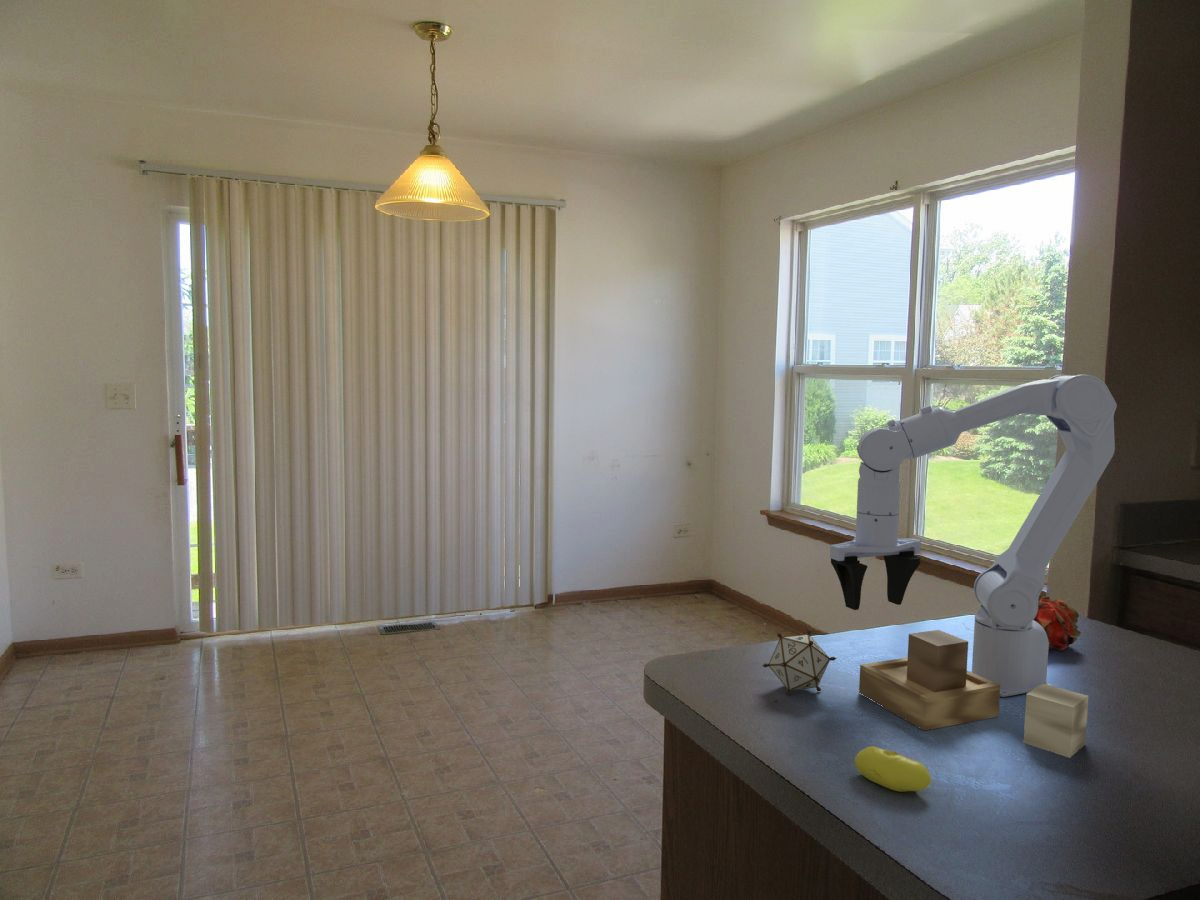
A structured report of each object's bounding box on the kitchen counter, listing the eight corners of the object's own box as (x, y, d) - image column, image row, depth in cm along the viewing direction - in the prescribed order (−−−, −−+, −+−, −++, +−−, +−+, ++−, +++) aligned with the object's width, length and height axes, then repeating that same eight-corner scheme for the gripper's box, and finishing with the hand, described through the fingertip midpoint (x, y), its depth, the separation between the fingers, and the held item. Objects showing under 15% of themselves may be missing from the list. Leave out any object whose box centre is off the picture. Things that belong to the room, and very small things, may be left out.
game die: (809, 721, 109) (838, 680, 103) (750, 694, 111) (775, 652, 104) (819, 670, 116) (847, 629, 110) (764, 645, 117) (788, 603, 111)
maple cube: (1039, 730, 99) (1042, 683, 98) (1085, 745, 95) (1088, 695, 94) (1023, 743, 95) (1026, 694, 95) (1069, 758, 92) (1073, 707, 91)
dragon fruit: (1061, 647, 134) (1041, 677, 125) (1017, 610, 137) (994, 637, 129) (1098, 615, 129) (1079, 643, 120) (1050, 577, 133) (1029, 602, 124)
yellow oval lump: (865, 766, 89) (866, 732, 89) (937, 793, 84) (939, 757, 83) (846, 779, 87) (847, 744, 86) (919, 808, 81) (920, 771, 80)
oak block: (928, 682, 114) (929, 654, 113) (998, 716, 103) (1000, 685, 102) (858, 693, 109) (860, 664, 109) (924, 730, 98) (926, 698, 98)
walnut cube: (936, 673, 108) (938, 629, 107) (965, 687, 103) (968, 641, 102) (906, 678, 106) (908, 633, 105) (935, 692, 101) (937, 646, 101)
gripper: (898, 505, 122) (894, 593, 123) (818, 510, 116) (814, 602, 118) (933, 513, 115) (928, 606, 116) (850, 518, 110) (846, 616, 111)
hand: (873, 605), depth 117 cm, fingers open, 7 cm apart
